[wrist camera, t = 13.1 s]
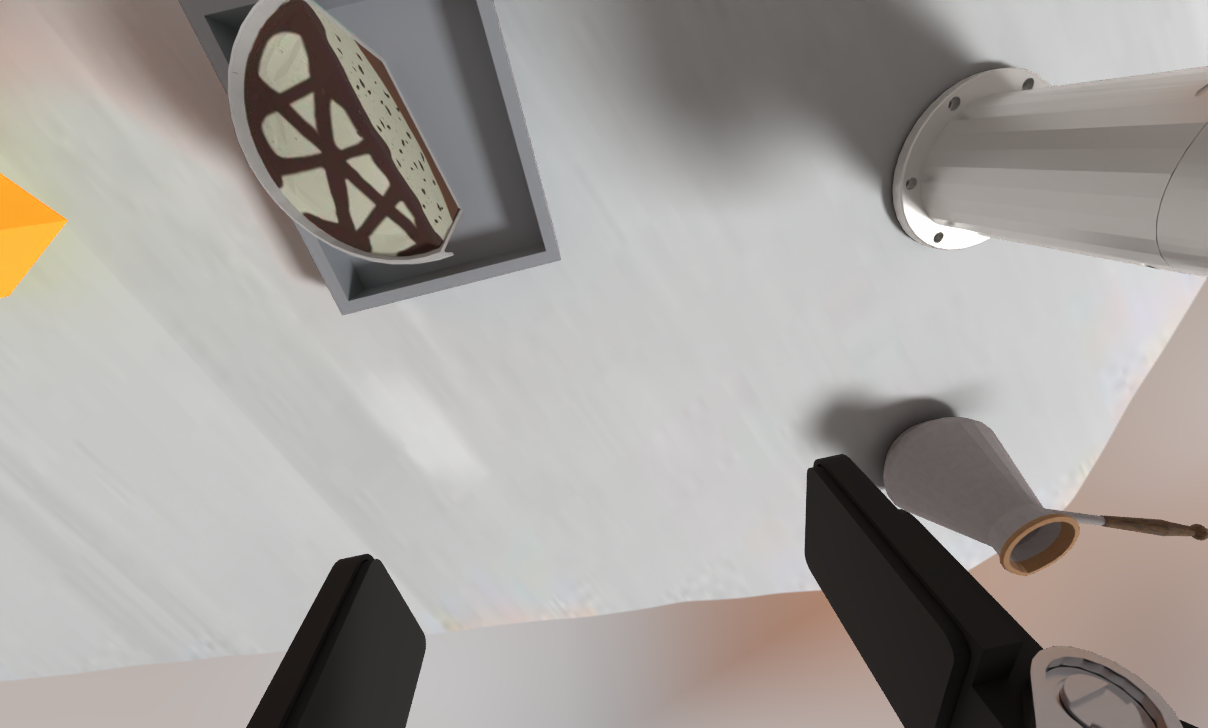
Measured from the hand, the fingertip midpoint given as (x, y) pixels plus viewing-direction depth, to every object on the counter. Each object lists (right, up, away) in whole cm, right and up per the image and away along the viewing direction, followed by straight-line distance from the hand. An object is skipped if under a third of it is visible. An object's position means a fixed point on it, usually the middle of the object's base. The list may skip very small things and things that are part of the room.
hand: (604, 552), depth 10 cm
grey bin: (-13, +18, +20) cm, 30 cm away
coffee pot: (+38, -4, +38) cm, 54 cm away
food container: (-14, +17, +19) cm, 29 cm away
